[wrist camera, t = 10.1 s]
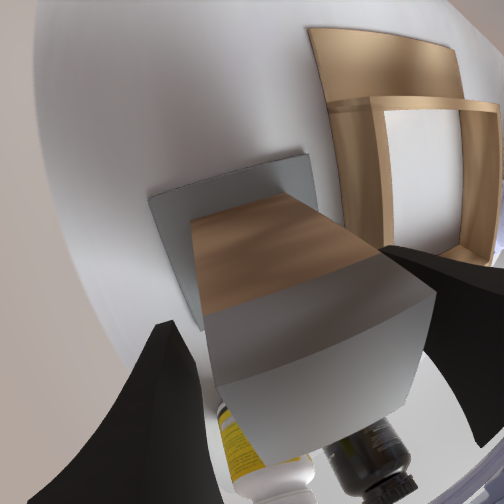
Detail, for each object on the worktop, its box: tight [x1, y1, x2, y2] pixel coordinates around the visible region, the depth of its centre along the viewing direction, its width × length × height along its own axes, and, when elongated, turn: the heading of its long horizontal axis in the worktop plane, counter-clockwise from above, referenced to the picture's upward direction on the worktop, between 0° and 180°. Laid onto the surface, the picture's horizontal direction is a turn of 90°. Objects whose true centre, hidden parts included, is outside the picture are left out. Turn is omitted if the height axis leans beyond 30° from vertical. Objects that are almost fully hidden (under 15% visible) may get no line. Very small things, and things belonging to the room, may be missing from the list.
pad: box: [148, 154, 318, 331], centre depth 13 cm, size 8×8×1 cm
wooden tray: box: [308, 28, 503, 267], centre depth 13 cm, size 12×20×4 cm, turn 13°
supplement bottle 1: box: [217, 402, 318, 504], centre depth 15 cm, size 5×5×10 cm
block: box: [190, 193, 437, 467], centre depth 9 cm, size 4×4×9 cm
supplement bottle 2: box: [322, 417, 418, 504], centre depth 18 cm, size 7×7×12 cm
